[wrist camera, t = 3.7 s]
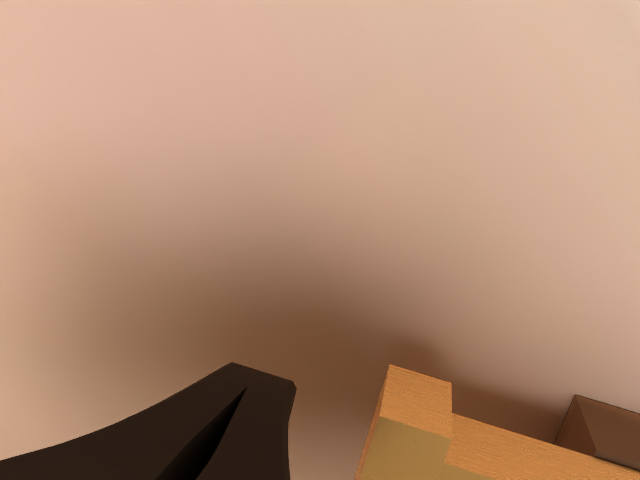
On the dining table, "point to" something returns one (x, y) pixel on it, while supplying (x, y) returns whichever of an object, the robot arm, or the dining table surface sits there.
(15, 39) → the dining table surface
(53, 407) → the dining table surface
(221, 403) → the robot arm
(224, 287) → the dining table surface
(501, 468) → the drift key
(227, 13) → the dining table surface
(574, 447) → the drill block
